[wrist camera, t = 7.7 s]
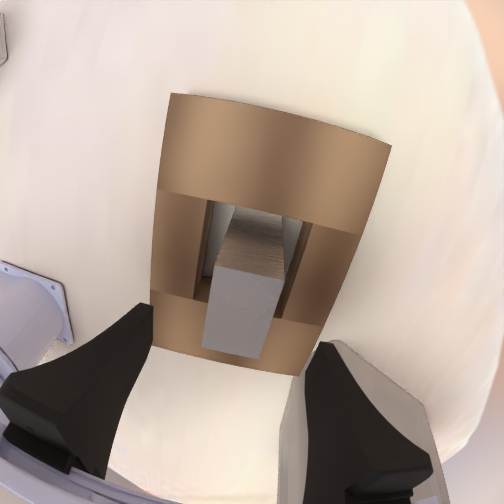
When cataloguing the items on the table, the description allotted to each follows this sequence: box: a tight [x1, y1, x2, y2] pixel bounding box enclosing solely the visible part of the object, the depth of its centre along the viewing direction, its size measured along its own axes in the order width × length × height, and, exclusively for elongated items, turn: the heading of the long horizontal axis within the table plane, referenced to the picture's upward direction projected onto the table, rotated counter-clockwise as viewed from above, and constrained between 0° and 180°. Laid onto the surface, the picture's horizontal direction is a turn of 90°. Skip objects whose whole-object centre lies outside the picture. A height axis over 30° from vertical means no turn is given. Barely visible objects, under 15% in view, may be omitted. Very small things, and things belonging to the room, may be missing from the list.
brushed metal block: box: [201, 206, 285, 359], centre depth 18 cm, size 3×5×8 cm, turn 168°
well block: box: [150, 93, 392, 377], centre depth 20 cm, size 12×18×3 cm, turn 168°
